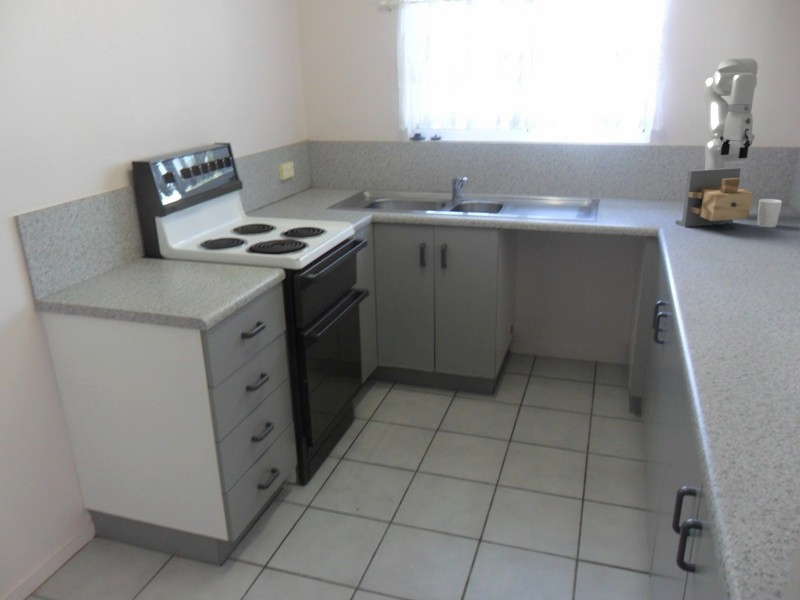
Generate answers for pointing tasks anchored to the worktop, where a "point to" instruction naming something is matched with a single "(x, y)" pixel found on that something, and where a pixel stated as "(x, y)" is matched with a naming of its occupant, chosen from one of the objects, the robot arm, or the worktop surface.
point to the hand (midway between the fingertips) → (733, 156)
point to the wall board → (695, 198)
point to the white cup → (768, 212)
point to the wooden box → (726, 201)
